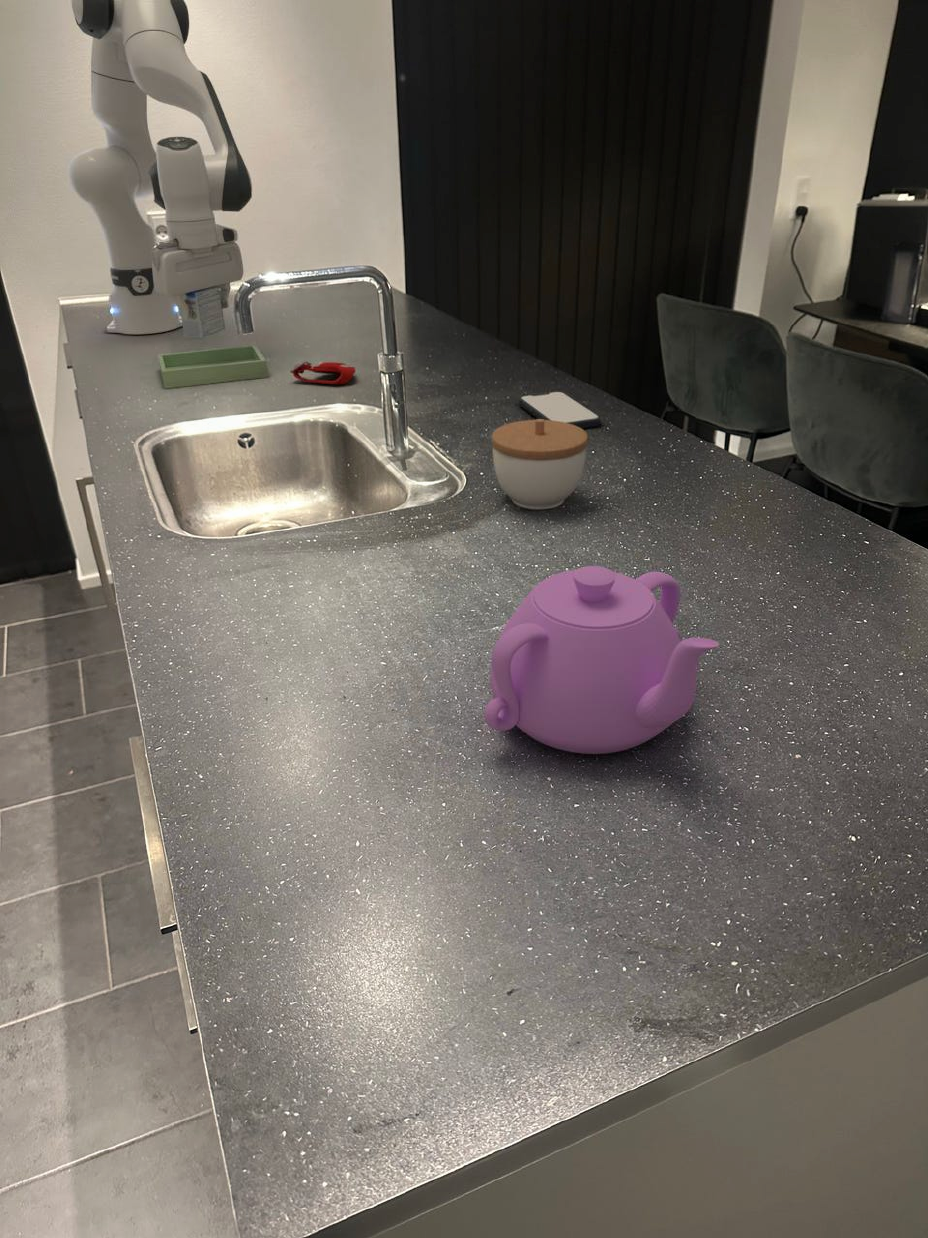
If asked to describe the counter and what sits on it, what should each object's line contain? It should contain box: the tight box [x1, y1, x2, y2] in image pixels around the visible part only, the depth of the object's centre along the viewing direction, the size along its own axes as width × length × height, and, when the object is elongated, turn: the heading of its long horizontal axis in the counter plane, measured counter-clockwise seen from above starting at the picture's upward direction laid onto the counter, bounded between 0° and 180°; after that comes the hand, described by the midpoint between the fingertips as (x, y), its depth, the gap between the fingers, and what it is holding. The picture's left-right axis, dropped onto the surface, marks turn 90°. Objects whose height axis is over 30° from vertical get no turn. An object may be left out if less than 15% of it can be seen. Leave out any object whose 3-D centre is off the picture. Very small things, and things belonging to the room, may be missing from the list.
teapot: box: [483, 565, 720, 755], centre depth 76 cm, size 22×22×14 cm
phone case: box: [518, 391, 601, 430], centre depth 153 cm, size 9×2×16 cm
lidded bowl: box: [491, 418, 589, 510], centre depth 120 cm, size 13×13×11 cm
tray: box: [157, 344, 269, 389], centre depth 180 cm, size 14×20×3 cm
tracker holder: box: [289, 360, 356, 386], centre depth 174 cm, size 12×4×10 cm
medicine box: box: [181, 286, 226, 340], centre depth 175 cm, size 8×4×9 cm, turn 160°
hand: (205, 312), depth 175 cm, fingers closed on medicine box, 8 cm apart
